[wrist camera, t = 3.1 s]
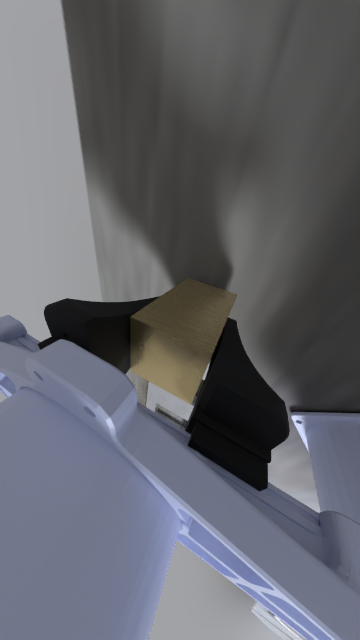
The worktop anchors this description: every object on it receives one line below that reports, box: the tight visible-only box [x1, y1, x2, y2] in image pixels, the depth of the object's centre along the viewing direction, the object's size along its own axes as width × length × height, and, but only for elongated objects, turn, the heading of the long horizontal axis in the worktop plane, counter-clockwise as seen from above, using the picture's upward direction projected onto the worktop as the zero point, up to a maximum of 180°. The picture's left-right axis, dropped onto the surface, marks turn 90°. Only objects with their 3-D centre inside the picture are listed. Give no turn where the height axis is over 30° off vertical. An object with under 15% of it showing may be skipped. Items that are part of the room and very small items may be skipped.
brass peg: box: [130, 278, 237, 405], centre depth 11 cm, size 4×4×7 cm
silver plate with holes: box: [146, 359, 211, 430], centre depth 23 cm, size 22×9×2 cm, turn 169°
